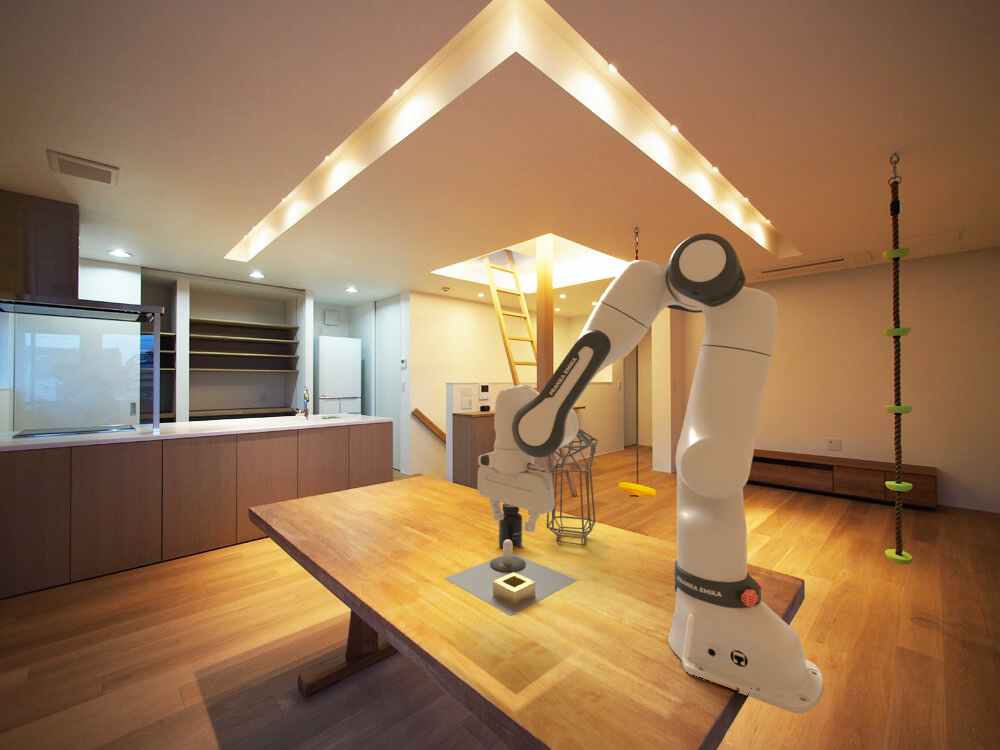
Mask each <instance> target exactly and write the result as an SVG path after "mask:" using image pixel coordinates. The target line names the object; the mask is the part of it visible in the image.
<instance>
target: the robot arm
mask: <svg viewBox="0 0 1000 750" xmlns="http://www.w3.org/2000/svg"><path fill="white" fill-rule="evenodd" d="M746 283H747V280H746V275H745V273H744V271H743V267H742V265H741V262H740V259H739V257H738V254H737V252H736V250H735V248H734V247H733V246H732V244H731V243H730V242H729V241H728V240H727V239H726V238H724V237H723V236H721V235H718V234H715V233H708V232H707V233H705V232H704V233H699V234H695V235H692V236H690V237H688V238H686V239H685V240H683V241H682V242H681V243H680V244H679V245H677V246H676V248H675V249H674V250H673V251H672V254H671V255H670V257H669V259H668V263H667V264H658V263H655V262H653V261H650V260H645V259H635V260H632V261H630V262H629V263H627V264H626V265H625V266H624V267H623V268H622V269H621V271H620V272H619V273H618V274H617V275H616V276H615V278H613V280H612V281H611V282H610V283H609V285H608V287H607V288H606V289H605V291H603V293H602V294H601V296H600V298H599V300H598V301H597V303H596V305H595V306H594V308H593V310H592V312H591V313H590V314H589V316H588V318H587V321H586V322H585V324H584V326H583V328H582V330H581V331H580V333H579V335H578V337H577V338H576V340H575V342H574V344H573V345H572V347H571V348H570V350H569V352H568V353H567V354H566V355H565V357H564V359H562V361H561V363H560V364H559V366H558V367H557V368H556V370H555V371H554V373H553V374H552V376H551V377H550V379H549V380H548V381H547V383H546V384H545V386H544V387H543V389H542V390H541V392H540V391H539V392H538V391H537V390H536V389H535V388H534V387H533V386H531V385H529V384H522V385H521V384H520V385H512V386H508V387H505V388H502V389H501V390H500V391H499V392H498V393H497V396H496V399H495V406H494V407H495V408H494V419H493V421H494V422H493V423H494V424H493V425H494V431H495V440H494V443H493V451H491V452H487V453H483V454H480V455H479V456H478V457H477V462H478V463H477V464H478V465H479V466H478V470H477V490H478V491H477V492H478V493H479V496H481V497H482V498H483V497H484V498H487V499H489V505H490V507H491V509H492V512H493V520H495V521H498V522H499V521H500V520H503V518H504V516H503V515H504V512H503V511H502V508H501V504H500V503H503V504H504V503H506V504H510V505H513V506H516V507H519V509H523V510H526V511H527V515H528V516H529V518H528V520H527V521H524V524H523V525H524V530H525V531H526V532H530V533H532V532H535V531H536V522H537V520H538V519H539V517H540V515H545V514H547V513H549V514H550V513H552V510H553V509H554V507H555V498H554V494H555V487H554V488H553V482H552V474H551V472H550V469H548V467H547V466H546V465H538V464H536V463H535V461H536V460H535V458H544V457H548V455H550V456H551V454H552V453H555V451H556V452H557V450H559V448H560V449H562V448H561V447H563V446H565V445H567V446H568V445H569V443H570V442H571V441H572V440H573V441H575V439H576V437H577V434H578V432H579V429H581V428H580V418H579V415H578V413H577V411H576V410H575V409H574V407H575V405H576V404H577V402H578V401H579V399H580V397H581V396H582V395H583V393H584V392H585V390H586V389H587V387H588V386H589V385H590V383H591V381H592V380H593V379H594V378H595V377H596V376H597V375H598V374H599V373H600V372H602V371H603V370H604V369H605V368H607V367H609V366H611V365H612V364H615V363H616V362H619V361H621V360H623V359H625V358H626V357H627V356H628V355H629V354H630V353H632V351H633V350H634V349H635V348H636V347H637V346H638V345H639V344H640V342H641V341H642V339H643V338H645V337H644V336H645V335H646V334H647V332H648V331H649V329H650V328H651V326H652V324H653V323H654V321H655V319H657V317H658V315H659V314H660V313H661V312H662V311H663V310H664V309H665V308H668V309H672V310H677V311H683V312H688V313H703V315H704V318H705V327H704V328H705V329H704V332H703V333H704V334H703V338H702V341H701V346H700V349H699V353H698V357H697V358H698V359H697V362H696V366H695V370H694V373H693V374H694V375H693V379H692V383H691V388H690V392H689V397H688V401H687V405H686V409H685V414H684V418H683V419H684V420H683V422H682V428H681V432H680V436H679V439H678V442H677V444H676V445H677V446H676V451H675V453H676V454H675V469H676V560H675V562H674V570H673V571H674V572H673V581H674V591H675V594H676V595H675V604H674V613H673V618H672V624H671V627H670V631H669V634H668V638H667V640H668V645H669V646H670V648H671V650H672V651H673V652H674V653H675V655H676V656H677V657H678V658H679V659H680V660H681V663H682V666H683V669H684V670H685V672H686V673H687V672H688V673H687V674H689V675H690V676H693V675H695V676H694V677H696V676H697V677H696V678H698V677H701V678H704V679H708V680H711V681H714V682H718V683H722V684H724V685H730V686H737V687H738V688H739V690H740V691H739V692H738V694H742V695H744V696H747V695H748V693H749V695H748V696H747V697H749V698H752V699H754V700H758V701H761V702H763V703H766V704H769V705H771V706H774V707H776V708H779V709H782V710H785V711H787V712H790V713H794V714H803V713H807V712H809V711H812V710H813V709H815V708H816V707H817V706H818V705H819V703H820V701H821V699H822V698H823V694H824V689H825V688H824V687H825V685H824V678H823V674H822V672H821V670H820V669H819V667H818V666H817V665H816V664H815V663H814V662H812V661H810V660H808V659H807V658H806V657H805V653H804V649H803V645H802V642H801V639H800V637H799V635H798V634H797V631H795V629H794V628H792V627H791V626H790V625H789V624H788V623H786V621H785V620H784V619H782V618H781V617H780V616H779V615H778V614H777V613H776V612H775V611H773V609H771V608H770V607H769V606H768V605H767V604H766V603H765V602H764V601H763V600H762V588H763V579H760V580H759V581H758V582H757V581H756V580H755V579H754V578H753V577H752V575H750V573H749V571H748V543H747V542H748V541H747V540H748V539H747V536H748V533H747V523H746V513H745V500H744V490H743V489H744V487H745V485H746V484H747V482H748V480H749V476H750V474H751V473H750V472H751V470H752V469H751V468H752V463H753V459H754V453H755V452H754V450H755V446H756V440H757V433H758V426H759V420H760V419H759V418H760V411H761V404H762V400H763V396H764V391H765V388H766V384H767V383H766V382H767V378H768V374H769V372H770V371H769V370H770V366H771V363H772V359H773V354H774V351H775V345H776V338H777V330H778V329H777V328H778V303H777V301H776V299H775V298H774V297H773V296H772V295H771V294H769V293H767V292H766V291H763V290H761V289H757V288H752V287H748V286H745V284H746ZM571 443H572V442H571ZM552 455H553V454H552ZM701 678H700V679H701ZM704 679H703V680H704ZM751 688H752V689H751Z"/></svg>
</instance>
